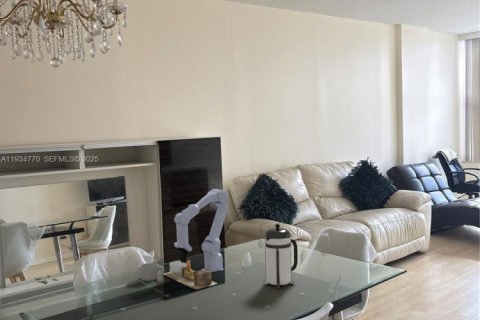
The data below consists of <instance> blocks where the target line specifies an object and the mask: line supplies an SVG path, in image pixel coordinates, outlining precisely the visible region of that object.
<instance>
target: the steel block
mask: <svg viewBox="0 0 480 320" xmlns="http://www.w3.org/2000/svg"><path fill="white" fill-rule="evenodd" d="M185 268H187V262H184V263H182V262H181V260H174V261H171V262H169V272H170V273H171V274H173V275H176V276H178V277H180V278H184V277H186V276H184V275H183V269H185Z"/></svg>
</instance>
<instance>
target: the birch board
mask: <svg viewBox="0 0 480 320" xmlns="http://www.w3.org/2000/svg"><path fill="white" fill-rule="evenodd" d="M162 275H164V276H166V277H168V278H170V279H172V280H175V281H176V282H179V283H181V284H183V285H185V286H188V287H189V288H191V289H194V290H199V289H204V288H206V287H210V286H215V285H218V282H215V281H213V280H212V284H211V285H207V286H204V287H200V288H199V287H197V286H195V285H194V278H192V279H191V278H189V277H184V278H180V277H178V276H176V275H173V274H171V273H170V271H169V272H164V273H163V274H162Z"/></svg>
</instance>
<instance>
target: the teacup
mask: <svg viewBox="0 0 480 320" xmlns="http://www.w3.org/2000/svg"><path fill="white" fill-rule="evenodd" d="M160 269H161V270H162V271H161V272H160ZM137 270H138V271H137V272H138V273H137V274H138V277H139V279H140V280H141V281H142V282H143V281H144V282H153V281H156V279H158V278H160V277H161V275H164V274H163V273H165V267H164V266H162V265H160V264H159V263H157V262H148V263H147V262H145V263H142V264H141V263H140V264H139V265H137Z"/></svg>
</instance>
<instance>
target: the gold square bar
mask: <svg viewBox="0 0 480 320" xmlns="http://www.w3.org/2000/svg"><path fill="white" fill-rule="evenodd" d="M186 264H187V268H185V269H183V275H184V276H186V277H189V278H191V279H192V278H194V272H196V271H197V270H196V271H195V270H193V269H192V267H191V260H190V259H186Z"/></svg>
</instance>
